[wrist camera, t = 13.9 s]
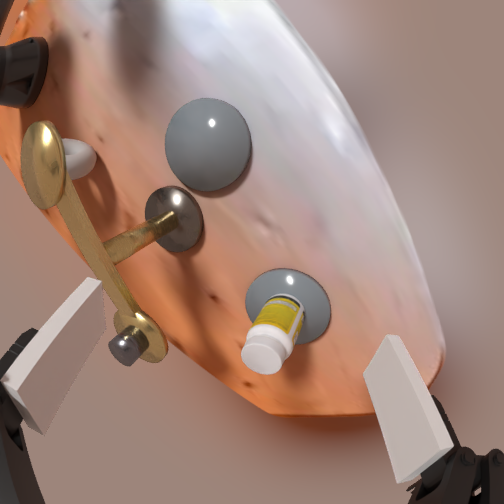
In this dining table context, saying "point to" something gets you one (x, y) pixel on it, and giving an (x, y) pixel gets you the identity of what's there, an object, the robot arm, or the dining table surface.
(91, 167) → the donut
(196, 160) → the glossy grey puck
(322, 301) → the dish low
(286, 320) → the supplement bottle
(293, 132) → the dining table surface
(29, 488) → the robot arm
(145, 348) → the balance
